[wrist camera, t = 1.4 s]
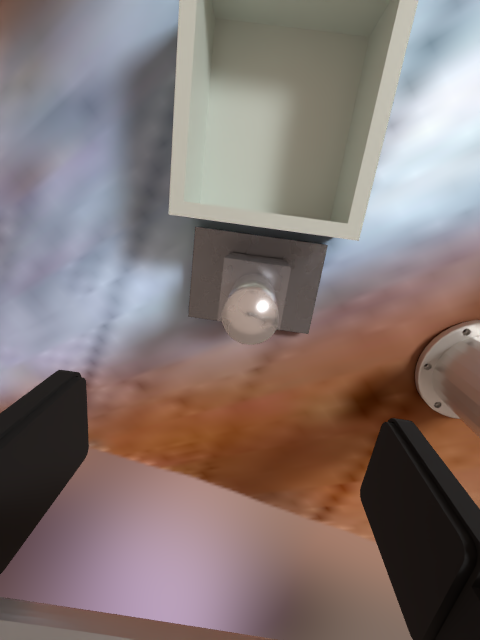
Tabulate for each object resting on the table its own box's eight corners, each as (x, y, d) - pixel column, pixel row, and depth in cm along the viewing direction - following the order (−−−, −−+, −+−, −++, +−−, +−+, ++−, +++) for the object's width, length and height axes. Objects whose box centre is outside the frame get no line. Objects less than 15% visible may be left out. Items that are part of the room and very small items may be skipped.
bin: (382, 28, 27) (430, -48, 19) (335, 236, 32) (358, 240, 25) (205, 6, 27) (183, -77, 20) (190, 216, 33) (168, 214, 25)
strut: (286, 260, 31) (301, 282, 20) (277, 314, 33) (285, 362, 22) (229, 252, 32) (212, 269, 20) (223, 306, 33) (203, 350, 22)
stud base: (324, 244, 33) (338, 249, 27) (306, 329, 36) (315, 350, 30) (198, 226, 33) (184, 228, 27) (191, 312, 36) (177, 330, 30)
